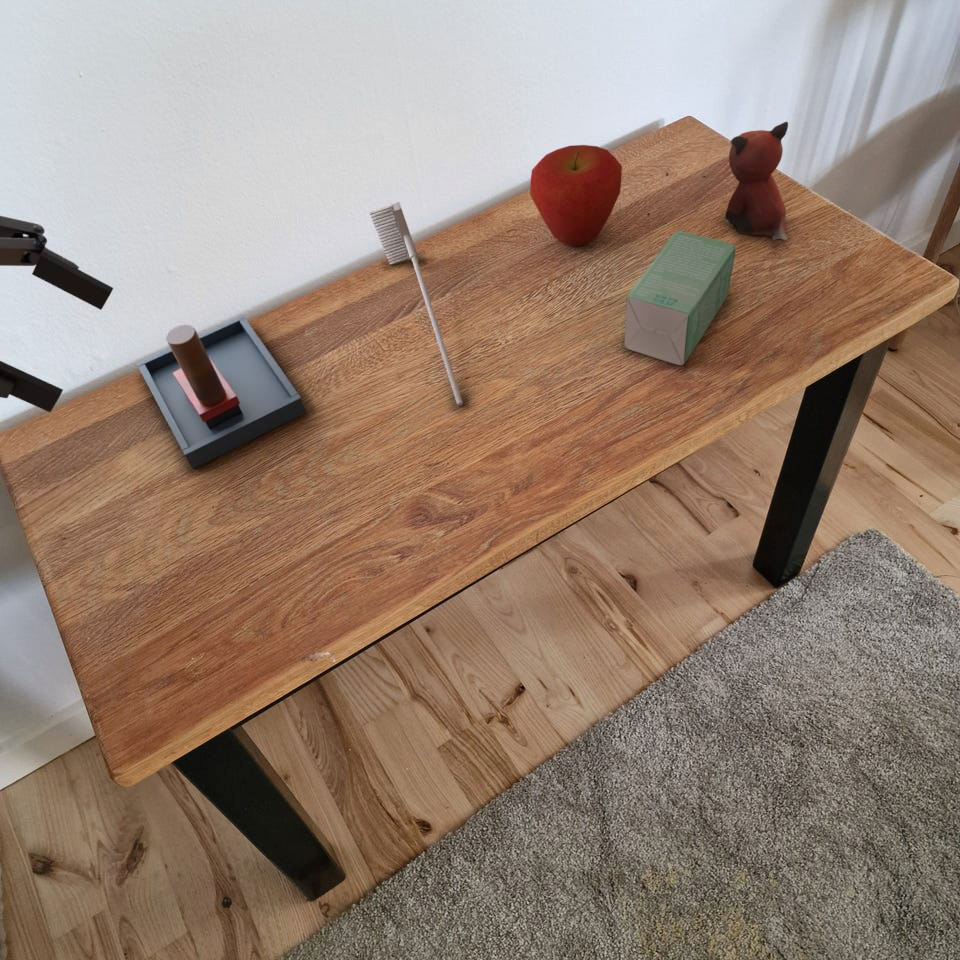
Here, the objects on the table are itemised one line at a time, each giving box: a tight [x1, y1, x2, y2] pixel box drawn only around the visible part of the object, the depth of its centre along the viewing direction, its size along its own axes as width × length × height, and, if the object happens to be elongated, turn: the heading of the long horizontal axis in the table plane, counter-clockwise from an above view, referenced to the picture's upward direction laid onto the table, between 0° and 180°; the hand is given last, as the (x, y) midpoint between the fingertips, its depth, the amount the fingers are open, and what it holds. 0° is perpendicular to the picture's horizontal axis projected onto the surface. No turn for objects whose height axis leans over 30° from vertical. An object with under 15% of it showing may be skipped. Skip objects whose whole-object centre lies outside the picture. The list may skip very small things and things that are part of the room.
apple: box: [529, 144, 623, 248], centre depth 102 cm, size 11×11×12 cm
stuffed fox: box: [724, 121, 789, 242], centre depth 99 cm, size 8×11×12 cm
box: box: [623, 231, 737, 366], centre depth 92 cm, size 7×14×8 cm, turn 149°
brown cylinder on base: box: [165, 324, 242, 429], centre depth 89 cm, size 8×4×12 cm, turn 34°
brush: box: [369, 201, 464, 407], centre depth 96 cm, size 4×28×9 cm, turn 13°
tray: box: [136, 314, 307, 469], centre depth 94 cm, size 18×14×2 cm
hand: (84, 347), depth 75 cm, fingers open, 13 cm apart
